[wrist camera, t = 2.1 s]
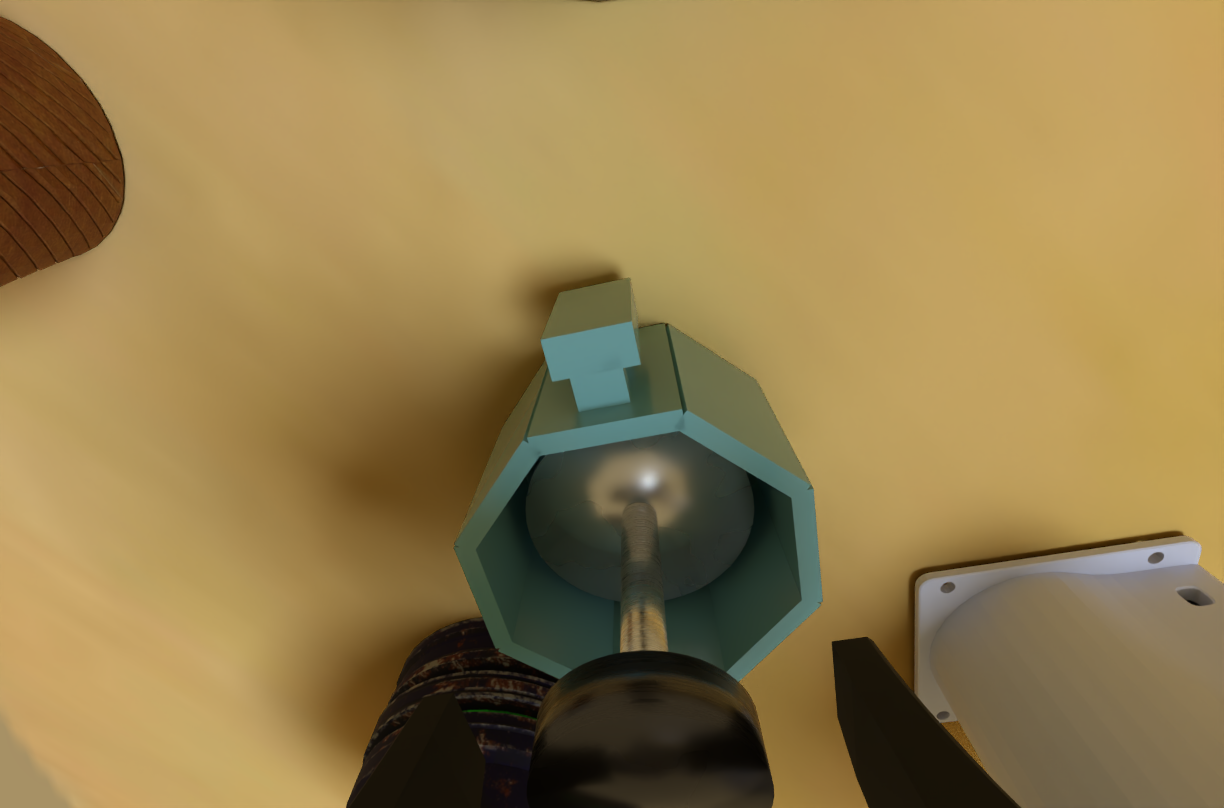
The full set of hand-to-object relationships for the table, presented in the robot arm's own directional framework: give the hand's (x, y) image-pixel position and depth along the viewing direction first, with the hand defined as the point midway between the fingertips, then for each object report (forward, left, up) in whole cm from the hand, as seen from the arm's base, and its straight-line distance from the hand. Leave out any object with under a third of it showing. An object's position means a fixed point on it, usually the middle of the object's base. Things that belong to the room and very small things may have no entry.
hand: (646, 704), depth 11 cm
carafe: (0, 0, -10) cm, 10 cm away
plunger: (0, 0, -7) cm, 7 cm away
